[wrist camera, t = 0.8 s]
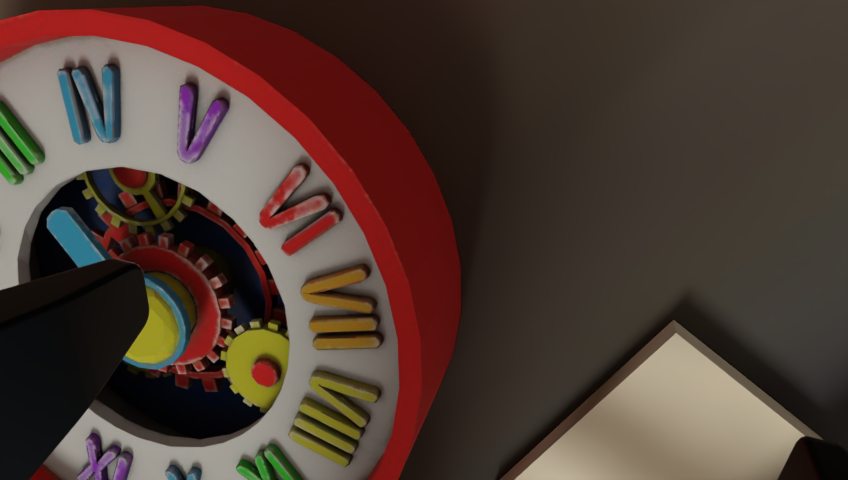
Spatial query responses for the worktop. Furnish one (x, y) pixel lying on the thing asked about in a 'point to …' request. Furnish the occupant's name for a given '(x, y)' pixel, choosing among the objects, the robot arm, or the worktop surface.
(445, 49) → the worktop surface
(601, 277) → the worktop surface
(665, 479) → the cleat board
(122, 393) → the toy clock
